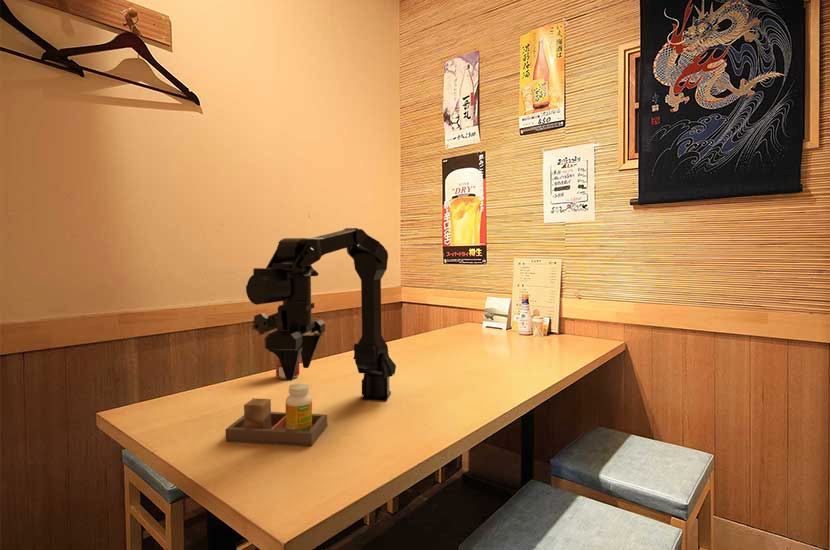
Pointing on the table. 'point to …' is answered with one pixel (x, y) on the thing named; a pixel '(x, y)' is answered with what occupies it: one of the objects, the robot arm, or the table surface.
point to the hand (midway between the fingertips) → (298, 373)
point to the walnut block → (257, 413)
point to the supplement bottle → (299, 408)
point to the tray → (277, 431)
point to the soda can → (280, 371)
